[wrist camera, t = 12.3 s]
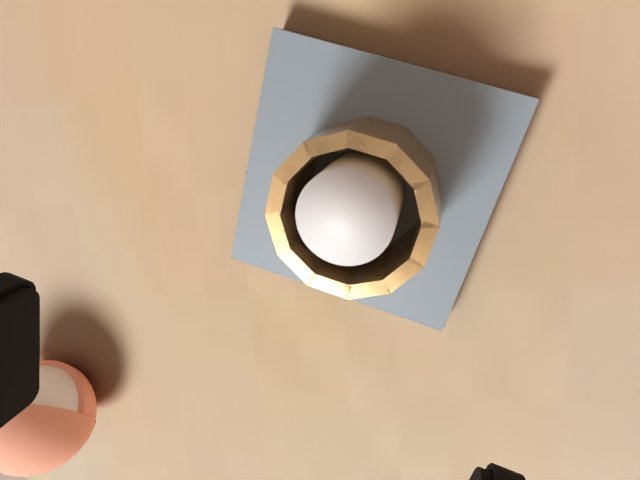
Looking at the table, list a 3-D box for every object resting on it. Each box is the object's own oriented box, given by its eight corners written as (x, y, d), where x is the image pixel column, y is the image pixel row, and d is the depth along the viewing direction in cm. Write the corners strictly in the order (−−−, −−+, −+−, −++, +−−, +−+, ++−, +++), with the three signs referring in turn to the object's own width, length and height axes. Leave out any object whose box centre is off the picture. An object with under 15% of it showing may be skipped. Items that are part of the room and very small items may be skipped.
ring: (461, 142, 23) (463, 163, 18) (412, 273, 26) (404, 319, 21) (317, 100, 24) (286, 111, 19) (286, 231, 27) (253, 266, 22)
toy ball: (98, 338, 36) (10, 408, 29) (133, 421, 38) (60, 506, 31) (19, 344, 38) (-80, 410, 31) (56, 422, 41) (-28, 501, 33)
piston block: (534, 96, 23) (563, 110, 17) (442, 318, 28) (440, 387, 22) (282, 28, 25) (230, 20, 19) (241, 248, 30) (189, 295, 24)
